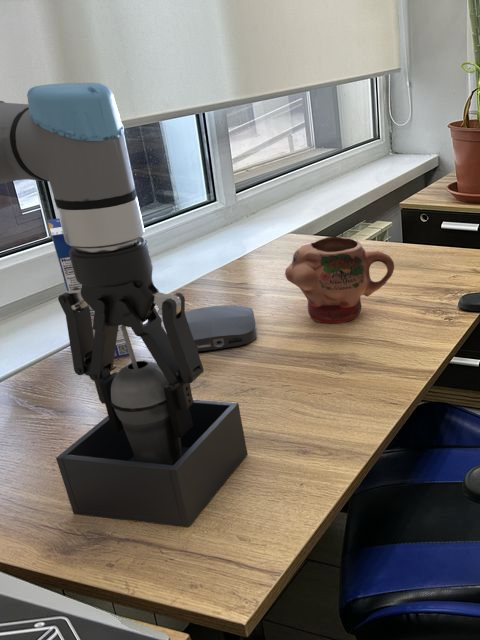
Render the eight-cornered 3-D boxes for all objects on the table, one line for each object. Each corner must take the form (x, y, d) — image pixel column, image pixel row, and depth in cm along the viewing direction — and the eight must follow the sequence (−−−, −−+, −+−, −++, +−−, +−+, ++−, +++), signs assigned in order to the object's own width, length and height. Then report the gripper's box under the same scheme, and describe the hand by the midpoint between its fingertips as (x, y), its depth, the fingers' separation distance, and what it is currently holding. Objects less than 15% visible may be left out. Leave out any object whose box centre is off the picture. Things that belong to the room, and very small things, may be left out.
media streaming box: (253, 314, 135) (251, 299, 134) (258, 345, 123) (256, 329, 121) (172, 325, 131) (169, 310, 130) (169, 357, 119) (165, 341, 117)
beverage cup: (153, 503, 82) (114, 348, 73) (120, 480, 86) (79, 331, 77) (208, 473, 87) (177, 325, 79) (174, 453, 91) (141, 310, 83)
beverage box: (88, 365, 117) (52, 235, 107) (80, 341, 125) (47, 219, 115) (132, 355, 120) (101, 228, 110) (122, 332, 128) (92, 213, 119)
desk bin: (73, 514, 82) (55, 457, 78) (146, 444, 95) (133, 394, 91) (189, 527, 79) (175, 470, 76) (247, 454, 92) (238, 402, 89)
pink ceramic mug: (391, 297, 142) (387, 229, 136) (400, 320, 132) (396, 248, 126) (290, 306, 138) (281, 238, 132) (291, 331, 128) (281, 257, 122)
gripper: (214, 234, 75) (246, 419, 85) (47, 228, 79) (96, 406, 89) (176, 256, 69) (216, 453, 79) (-5, 248, 72) (55, 438, 82)
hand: (153, 428), depth 84 cm, fingers open, 7 cm apart
